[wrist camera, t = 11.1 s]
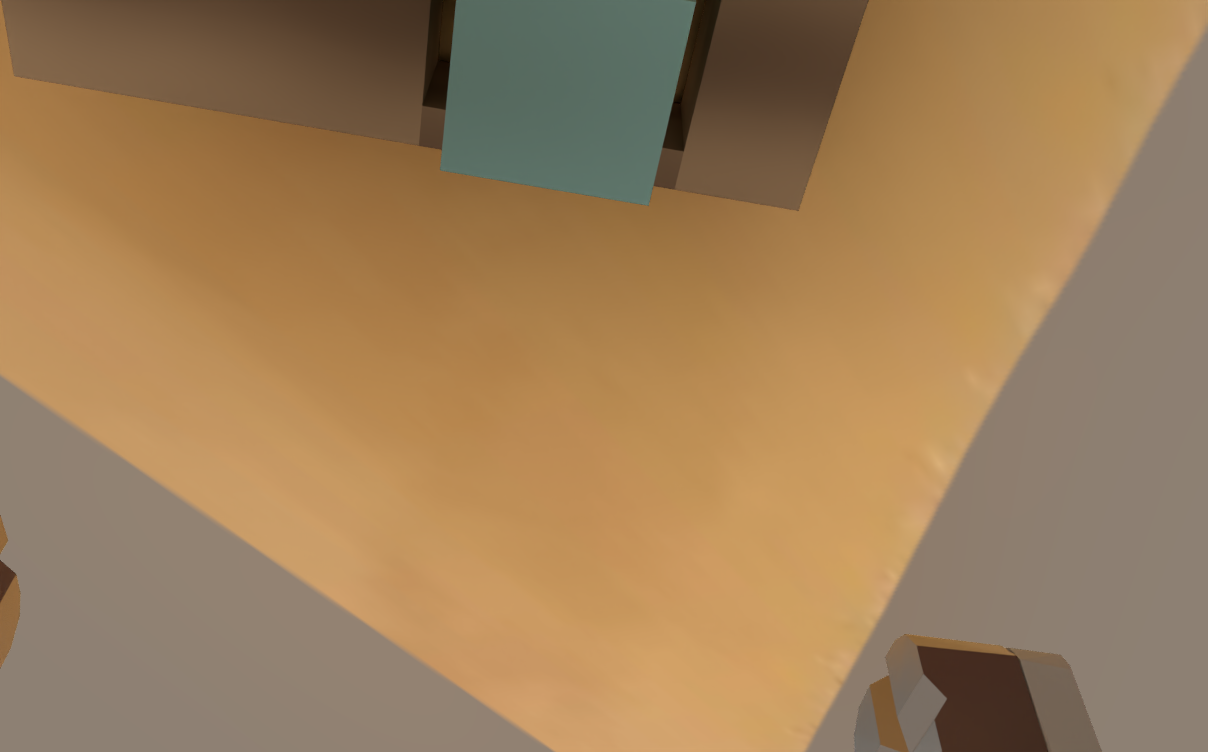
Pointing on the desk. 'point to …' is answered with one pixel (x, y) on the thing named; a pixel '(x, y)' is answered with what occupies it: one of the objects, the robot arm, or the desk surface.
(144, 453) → the desk surface
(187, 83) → the brown frame
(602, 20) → the teal square prism
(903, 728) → the robot arm
